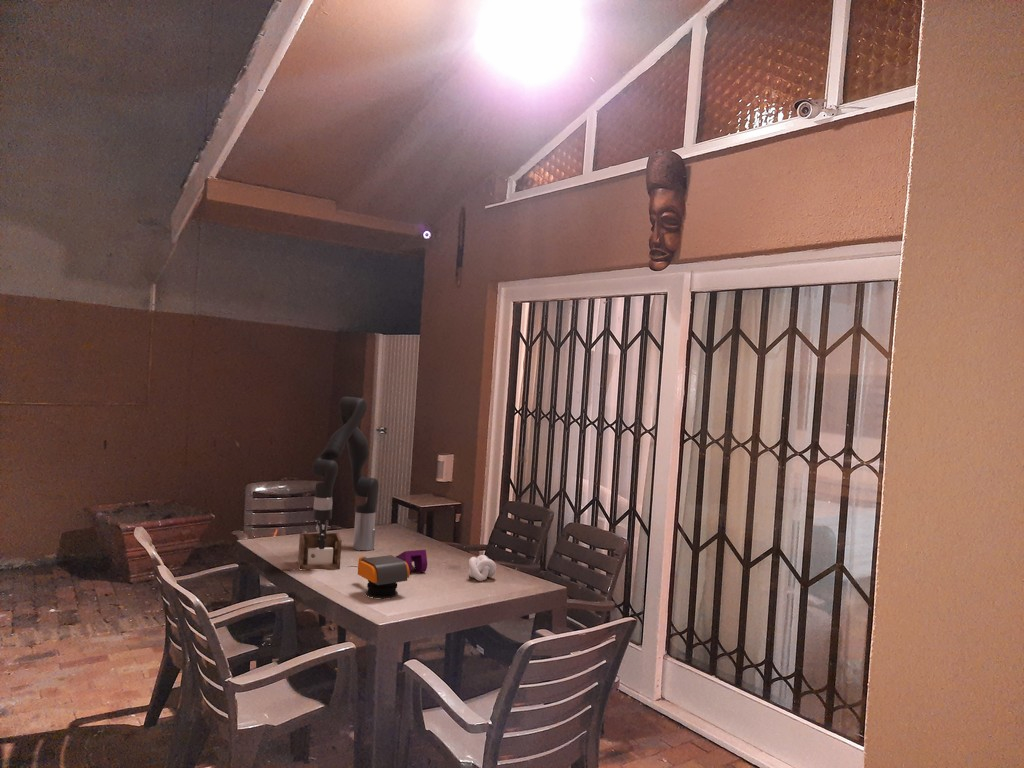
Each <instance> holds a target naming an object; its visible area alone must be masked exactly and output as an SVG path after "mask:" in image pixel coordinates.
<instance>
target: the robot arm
mask: <svg viewBox="0 0 1024 768" xmlns="http://www.w3.org/2000/svg"><path fill="white" fill-rule="evenodd" d="M338 410H339V415H340V419H341V422H342V426H341V427H340V428H338V429H336V431H334V433H332V435H331V436H330V438H329V440H328V442H327V443H326V445H325V448H324V449H323V450H322V452H320V454H319V455H317V457H316V458H315V460H314V461H313V463H312V467H311V470H312V473H313V475H315V476H317V477H325V478H324V480H323V481H320V482H319V481H318V482H317V483H316V484H315V486H314V487H315V488H314V499H313V512H312V514H313V515H312V518H313V520H314V521H317V522H316V533H317V534H318V541H317V543H318V544H319V549H324V547H325V539H326V533H328V532H327V531H328V530H327V529H328V523H327V522H326V521H330V520H332V517H333V502H334V501H333V490H334V489H333V488H334V484H335V481H336V478H337V475H338V472H339V465H338V463H337V462H336V461H335V460H337V459H339V458H340V457H341V455H342V454H343V452H344V450H345V446H346V447H347V451H348V457H349V462H350V467H351V479H352V489H353V493H354V495H355V496H356V497H359V498H361V497H362V498H367V499H366V502H363V503H359V504H357V505H356V506H355V513H354V514H355V515H354V517H355V518H354V531H353V548H354V549H353V550H355V549H356V551H360V550H367V551H372V550H373V549H374V550H375V541H376V514H377V513H376V512H377V511H376V509H377V504H378V497H379V496H378V495H379V489H380V488H379V487H380V485H379V481H378V479H377V478H375V477H369V476H367V477H366V476H364V475H363V468H364V466H365V464H366V462H367V461H368V459H369V455H370V448H369V442H368V439H367V437H366V436H365V434H364V433H363V432H362V430H361V429H360V428H359V427H358V426H359V425H360V423H361V421H362V420H363V419H364V417H365V415H366V413H367V412H368V411H367V410H368V402H367V401H366V399H365V398H361V397H353V396H352V397H351V396H343V397H342V398H341V399H340V401H339V404H338ZM346 444H347V445H346ZM323 535H324V536H323ZM374 550H373V551H374Z"/></svg>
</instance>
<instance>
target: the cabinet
mask: <svg viewBox="0 0 1024 768" xmlns="http://www.w3.org/2000/svg"><path fill="white" fill-rule="evenodd" d="M317 533H318V532H300V533H299V541H298V542H299V544H298V555H297V557H298V560H297V563H298V562H299V563H298V568H300V569H326V570H340V569H341V557H342V556H341V555H342V542H343V541H342V537H341V535H340V533H339V532H327V533H326V539H325V547H324V548H329V547H333V562H332V564H307V553H308V548H319V544H318V543H317V541H318V534H317ZM323 536H324V535H323Z"/></svg>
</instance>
